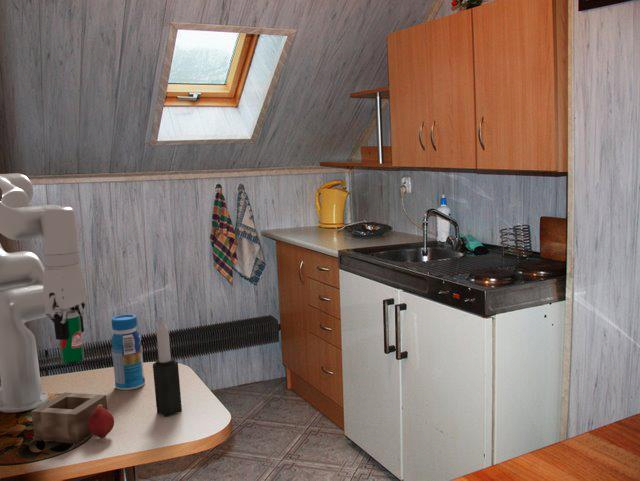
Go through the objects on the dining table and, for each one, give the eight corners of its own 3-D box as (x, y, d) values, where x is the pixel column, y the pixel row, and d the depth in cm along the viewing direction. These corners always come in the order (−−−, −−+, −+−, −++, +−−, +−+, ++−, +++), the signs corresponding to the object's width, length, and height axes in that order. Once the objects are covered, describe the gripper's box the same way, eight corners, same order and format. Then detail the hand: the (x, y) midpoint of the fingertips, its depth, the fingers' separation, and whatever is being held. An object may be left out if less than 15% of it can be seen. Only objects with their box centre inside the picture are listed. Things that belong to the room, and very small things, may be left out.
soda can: (77, 364, 155) (72, 314, 153) (57, 364, 156) (52, 314, 154) (88, 357, 160) (83, 309, 158) (69, 357, 161) (64, 309, 159)
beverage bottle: (109, 390, 185) (102, 320, 182) (124, 380, 193) (117, 313, 190) (136, 391, 183) (130, 321, 180) (150, 380, 191) (144, 313, 188)
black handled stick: (155, 412, 167) (146, 316, 164) (172, 406, 171) (163, 311, 167) (166, 417, 164) (158, 319, 160) (183, 410, 167) (175, 314, 164)
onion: (100, 445, 150) (97, 411, 149) (83, 440, 153) (80, 407, 152) (120, 435, 155) (117, 402, 153) (104, 431, 158) (100, 398, 156)
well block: (34, 439, 155) (31, 411, 154) (67, 419, 166) (64, 392, 165) (78, 443, 151) (75, 414, 150) (109, 422, 163) (106, 394, 162)
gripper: (70, 254, 163) (77, 325, 166) (24, 267, 147) (32, 346, 150) (97, 253, 162) (104, 326, 164) (53, 267, 145) (61, 347, 148)
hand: (70, 334), depth 157 cm, fingers closed on soda can, 5 cm apart
